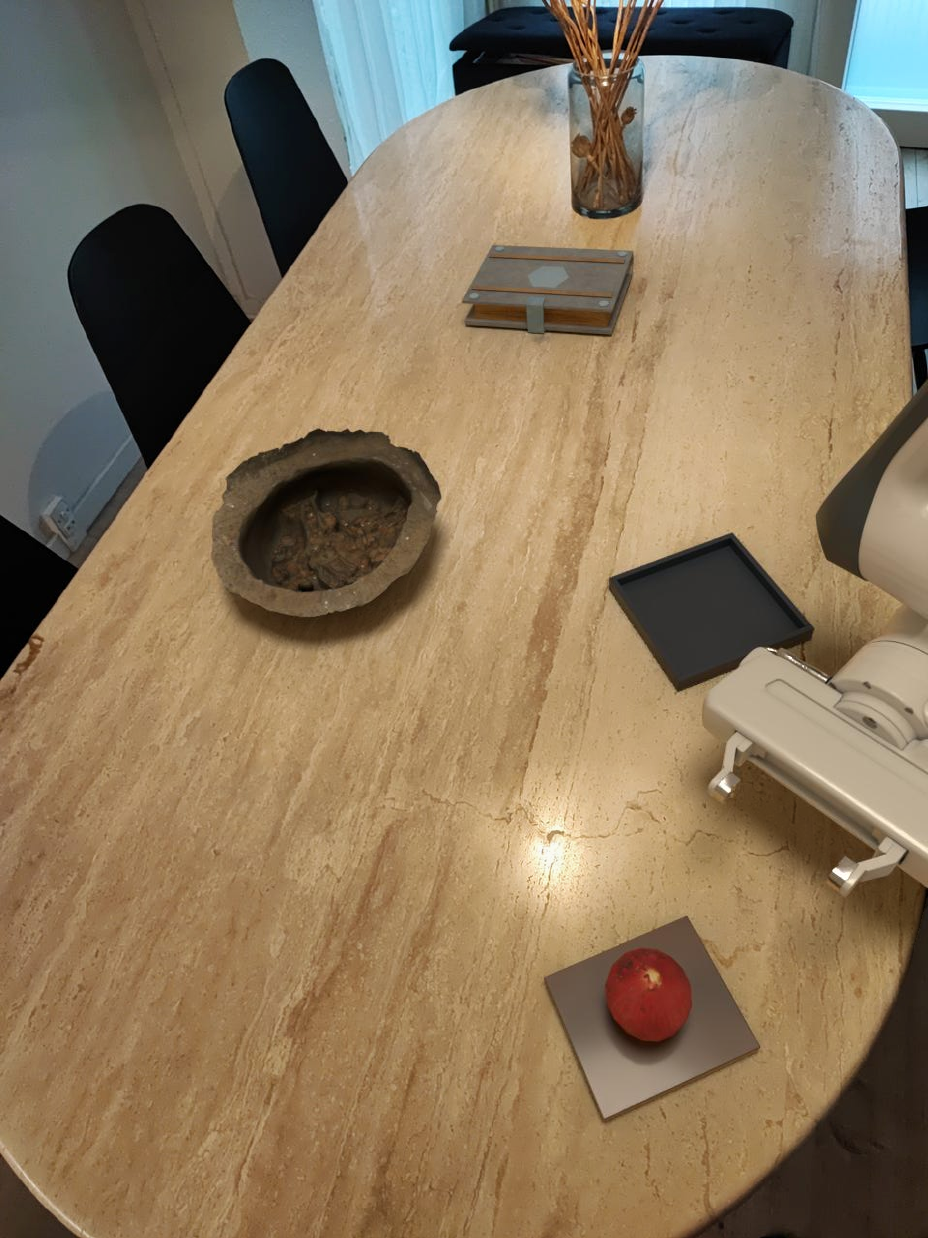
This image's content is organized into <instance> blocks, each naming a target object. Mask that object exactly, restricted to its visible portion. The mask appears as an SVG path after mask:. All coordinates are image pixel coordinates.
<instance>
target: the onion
mask: <svg viewBox="0 0 928 1238" xmlns="http://www.w3.org/2000/svg"><path fill="white" fill-rule="evenodd" d="M605 989H606V1000H607V1005H608V1007H609V1009H610V1011H611V1013H612V1016H613V1018H614V1020H615V1021H616V1022H617V1023H618V1024H619V1025H620V1026H621V1027H622V1028H623V1029H624V1030H625V1031H626V1032H627V1033H628V1034H630V1035H632V1036H634V1037H636V1038H639V1039H641V1040H644V1041H658V1042H659V1041H661V1040H664V1039H666V1038H668V1037H671V1036H673V1035H674V1034H675V1033H676V1032H677V1031H678V1030H679V1029H680V1028H681V1027H682V1026H683V1025H684V1024H685V1022H686V1021H687V1019H688V1016H689V1013H690V1010H691V1007H692V996H691V984H690V982H689V980H688V978H687V976H686V974H685V972H684V970H683V968H682V967H681V966H680V965H679V964H678V963H677V962H676V961H675V960H674V959H673V958H672V957H671V956H669V955H667V954H665V953H663V952H661V951H659V950H658V949H650V948H638V949H635V950H632V951H629V952H626V953H624V954H623V955H622V956H621V957H620V958H619V959H618V960H617V961H616V962H615V963H614V964H613V965H612V966H611V969H610V972H609V975H608V978H607V981H606V984H605Z"/></svg>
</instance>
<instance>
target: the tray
mask: <svg viewBox="0 0 928 1238" xmlns="http://www.w3.org/2000/svg"><path fill="white" fill-rule="evenodd" d="M608 590H609V591H610V593H611V594H612V596H613V597H614V598H615V600H616V602H617V603H618V604H619V606H620V608H621V609H622V610H623V612H624V614H625V615H626V617H627V618H628V619H629V621H630V622H631V625H633V627H634V628H635V630H636V631H637V633H638V634H639V636H640V638H641V639H642V640H643V642H644V644H645V645H646V647H647V649H649V651H650V652H651V654H652V655H653V657H654V658H655V660H656V661H657V663H658V665H659V666H660V668H661V669H662V671H663V672H664V673H665V675H666V677H667V678H668V679H669V681H670V682H671V684H672V686H673V687H674V688H675V690H676V692H681V691H683V690H686V689H688V688H691V687H693V686H696V685H698V684H701V683H703V682H706V681H709V680H711V679H713V678H716V677H719V676H721V675H724V674H726V673H730V672H732V671H734V670H735V669H737V668H738V666H739V664H740V662H741V661H742V660H743V659H744V658H745V657H746V656H747V655H748V654H749V653H751V652H752V651H753V650H754V649H756V648H758V647H768V648H774V649H776V650H779V649H780V648H783V649H786V650H788V649H789V648H792V647H795V646H797V645H800V644H802V643H805V642H807V641H810V640H812V637H813V636H814V635H813V634H814V632H815V627H814V625H812V623H810V621H809V620H808V619H807V617H805V615H804V614H803V613H802V611H800V609H799V608H798V607H797V606H796V605H795V604H794V602H793V601H792V600H791V599H790V598H789V597H788V595H787V594H786V593H785V592H784V591H783V590H782V588H781V587H780V586H779V585H778V584H777V582H776V581H775V580H774V579H773V578H772V577H771V576H770V574H769V573H768V572H767V571H766V570H765V568H763V566H762V565H761V563H760V562H758V561H757V559H756V558H755V557H754V556H753V554H752V553H751V552H750V551H749V550H748V549H747V547H746V546H745V545H744V544H743V543H742V542H741V540H740V539H739V538H738V537H737V536H736V535H735V534H734V532H733V531H732V532H729V533H726V534H724V535H721V536H719V537H716V538H713V539H710V540H707V541H704V542H701V543H699V544H697V545H694V546H691V547H688V548H686V549H682V550H680V551H678V552H674V553H672V554H669V555H667V556H664V557H661V558H659V559H656V560H653V561H651V562H647V563H644V564H642V565H640V566H637V567H634V568H632V569H629V570H627V571H623V572H621V573H618V574H615V575H612V576H610V577H608ZM772 654H773V653H772Z"/></svg>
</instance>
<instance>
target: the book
mask: <svg viewBox="0 0 928 1238" xmlns="http://www.w3.org/2000/svg"><path fill="white" fill-rule="evenodd" d="M634 253H635V252H634V250H625V249H624V250H622V249H602V248H601V249H600V248H599V249H598V248H575V247H553V246H552V247H551V246H550V247H549V246H548V247H547V246H529V245H528V246H527V245H526V246H525V245H505V244H503V245H501V244H492V245H491V247H490V249H489V251H488V252H487V254H486V256H485V258H484V259H483V262H482V263H481V264H480V267H479V269H478V270H477V273H476V274H475V276H474V277H473V279H472V281H471V283H470V285H469V287H468V289H467V291H466V292H465V294H464V296H463V298H462V300H461V303H462V304H468V305H469V304H470V305H472V306H471V308H470V309H469V312H468V314H466V317H465V319H464V325H467V326H468V325H469V326H482V327H494V328H495V327H496V328H510V329H527V333H529V334H531V333H532V334H542V335H543V334H545V333H546V331H554V332H555V331H556V332H567V333H568V332H569V333H570V332H571V333H582V334H598V335H609V336H610V335H612V334H613V331H614V329H615V327H616V323H617V321H618V318H619V314H620V312H621V309H622V306H623V303H624V301H625V297H626V294H627V291H628V289H629V286H630V283H631V280H632V277H633V273H634V264H635V254H634Z"/></svg>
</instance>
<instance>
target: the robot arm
mask: <svg viewBox="0 0 928 1238" xmlns="http://www.w3.org/2000/svg"><path fill="white" fill-rule="evenodd" d="M814 516H815V525H816V526H815V527H816V531H817V536H818V540H819V543H820V547H821V550H822V552H823V553H822V554H823V555H824V558H825V560H826V561H828V562H829V563H831V564H833V565H835V566H837V567H839V568H840V569H842V570H844V571H846V572H848V573H850V574H851V575H853V576H855V577H857V578H859V579H861V580H862V581H865V582H869V583H870V584H872V585H874V586H876V588H878V589H880V590H881V591H883V592H885V593H886V594H887V595H889V596H891V597H892V598H893V599H895V600H897V601H898V602H900V603H901V604H902V605H901V606H899V608H898V609H897V610H896V611H895V612H894V613H893V614H892V615H891V616H890V617H889V619H888V620H887V622H886V623H885V625H884V628H883V631H882V633H881V634H880V635H879V636H877V637H876V638H873V639H871V640H870V641H868V642H867V643H865V644H864V645H862V646H861V648H860V649H859V650H857V651H856V653H855V654H854V655H853V656H852V657H851V658H850V659H849V660H848V661H847V662H845V664H844V665H843V666H842V667H841V668H840V669H839V670H838V671H837V672H836V673H835V674H834V675H833V676H831V675H829V674H827V673H826V672H824V671H822V670H821V669H819V668H817V667H816V666H814V665H812V664H811V663H807V662H806V661H804V660H802V659H801V658H799V657H797V655H796V654H794V653H793V652H791V651H790V650H788V649H783V648H780V649H779V650H776V649H774V648H768V647H758V648H756V649H754V650H753V651H752V652H751V653H749V654H748V655H747V656H746V657H745V658H744V659H743V660H742V661H741V662H740V664H739V666H738V668H737V669H734V670H732V671H730V672H729V673H728V674H727V675H725V676H724V677H723V678H722V679H721V680H719V681H718V682H717V683H716V684H715V685H714V686H712V687H711V688H710V689H708V691H707V692H706V694H705V696H704V699H703V701H702V707H701V719H702V720H701V722H702V727H703V729H705V731H707V732H708V733H710V734H711V735H712V736H714V737H715V738H716V739H718V740H719V741H721V742H722V743H724V744H725V747H724V748H725V749H724V754H723V758H722V766H721V770H719V772H718V773H717V774H716V775H715V776H714V777H713V778H712V779H711V781H710V782H709V783H708V786H707V791H706V793H707V794H708V795H709V796H711V798H713V799H714V800H716V801H717V802H718V803H719V804H721V805H722V806H726V805H728V803H729V802H730V799H731V798H734V797H735V796H736V795H737V794H738V793H739V791H740V785H741V783H742V778H740V777H739V776H738V775H736V774H735V773H733V770H734V765H736V766H737V767H741V766H742V765H743V764H745V763H746V762H747V760H748V761H749V762H750V763H752V764H753V765H754V766H756V767H757V768H759V769H760V770H762V772H764V773H766V774H767V775H768V776H770V777H771V778H772V779H774V780H775V781H777V782H778V783H780V784H781V785H782V786H784V787H785V788H787V789H788V790H789V791H791V792H792V793H794V794H795V795H797V796H798V797H799V798H801V799H802V800H803V801H805V802H806V803H807V804H809V805H810V806H812V807H813V808H815V809H816V810H818V811H819V812H821V814H822V815H824V816H826V817H827V818H829V819H830V820H832V821H833V822H834V823H836V824H837V825H839V826H840V827H841V828H843V829H844V830H845V831H847V832H848V833H850V834H852V836H853V837H855V838H857V840H860V841H862V843H864V844H865V845H866V846H868V847H870V848H871V849H872V850H874V851H875V852H874V853H873V855H872V856H871V858H869V859H866V860H862V861H860V862H855V861H854V860H852V859H851V858H850V857H849V856H846V855H844V856H843V857H842V858H841V860H840V861H839V862H838V864H837V866H835V867H834V868H833V869H832V870H831V872H830V873H829V875H828V876H827V879H826V880H825V882H824V883H825V884H827V885H828V886H829V887H831V889H833V890H834V891H835V892H837V893H838V895H841V896H842V897H843V898H847V897H848V896H849V895H850V893H851V892H852V891H853V889H854V888H855V887H856V886H857V885H858V883H859V882H860V883H863V882H869V881H871V880H872V881H873V880H875V879H881V878H883V877H888V876H890V874H891V873H892V872H893V871H894V869H895V868H896V867H897V868H899V869H900V870H902V872H905V874H907V875H909V876H910V877H911V878H913V879H914V880H916V881H917V882H919V883H920V884H921V885H923V886H924V887H925V888H926V889H928V378H927V379H926V381H925V382H924V383H923V384H922V385H921V387H920V388H918V390H917V391H916V392H915V394H914V395H913V396H912V397H911V398H910V400H909V401H908V402H907V403H906V404H905V406H904V407H903V408H902V409H901V410H900V411H899V413H898V414H897V415H896V416H895V418H893V420H892V421H891V423H889V424H888V426H887V427H886V428H885V429H884V431H883V432H882V433H881V434H880V435H879V436H878V438H877V439H876V440H875V441H874V442H873V443H872V445H870V447H869V448H867V449H866V450H864V452H863V453H861V454H860V455H859V456H858V457H856V458H855V459H854V460H853V461H852V462H851V463H850V464H849V465H848V466H846V467H845V468H844V469H843V470H842V471H841V472H840V474H839V475H838V476H837V477H836V478H835V479H834V481H833V482H832V483H831V485H830V486H829V487H828V489H827V491H826V492H825V494H824V496H823V497H822V500H821V502H820V504H819V507H818V510H817V511H816V513H815V515H814ZM772 653H773V654H772Z"/></svg>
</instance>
